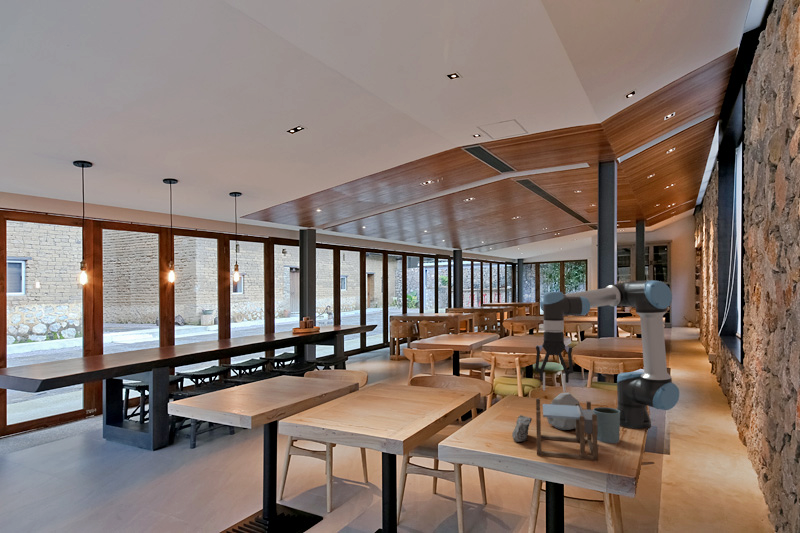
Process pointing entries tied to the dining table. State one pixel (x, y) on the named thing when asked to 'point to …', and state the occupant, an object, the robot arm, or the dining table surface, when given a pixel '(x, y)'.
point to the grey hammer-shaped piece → (570, 414)
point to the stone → (562, 422)
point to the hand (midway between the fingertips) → (554, 390)
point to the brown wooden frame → (579, 437)
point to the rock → (521, 429)
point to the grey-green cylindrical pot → (608, 424)
